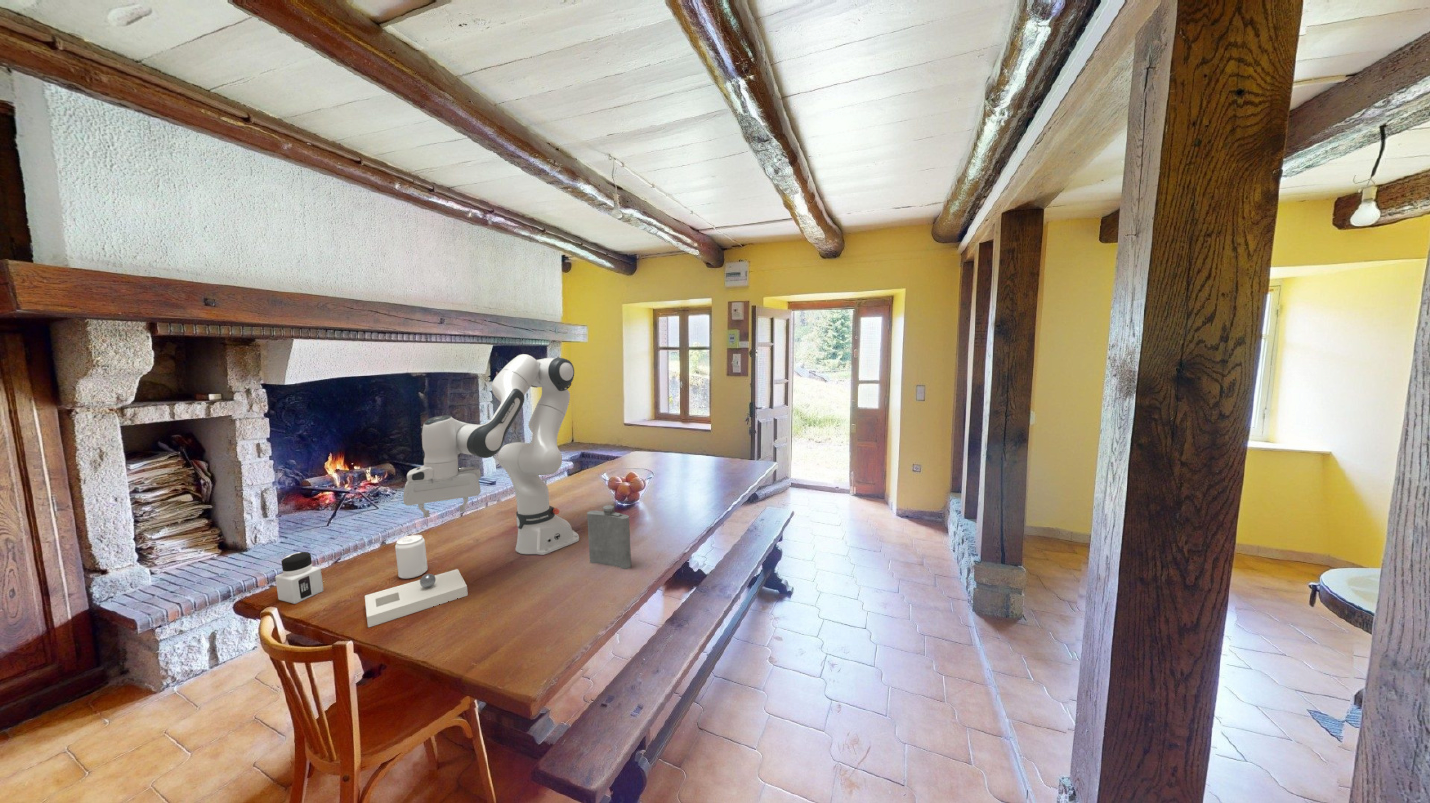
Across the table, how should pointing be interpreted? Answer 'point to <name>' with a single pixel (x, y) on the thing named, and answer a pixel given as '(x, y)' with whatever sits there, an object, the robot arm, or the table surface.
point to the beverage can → (411, 556)
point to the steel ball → (427, 580)
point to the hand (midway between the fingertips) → (444, 514)
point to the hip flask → (609, 538)
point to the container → (298, 578)
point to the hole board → (413, 597)
